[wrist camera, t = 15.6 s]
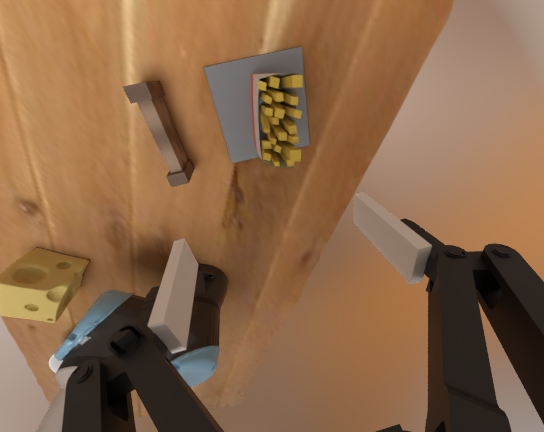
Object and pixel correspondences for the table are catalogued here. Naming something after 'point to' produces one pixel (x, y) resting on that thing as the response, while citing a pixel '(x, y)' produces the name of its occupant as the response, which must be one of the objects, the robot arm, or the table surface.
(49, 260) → the cheese
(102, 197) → the table surface
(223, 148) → the table surface
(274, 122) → the french fries container
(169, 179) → the walnut fence
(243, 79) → the slate mat
